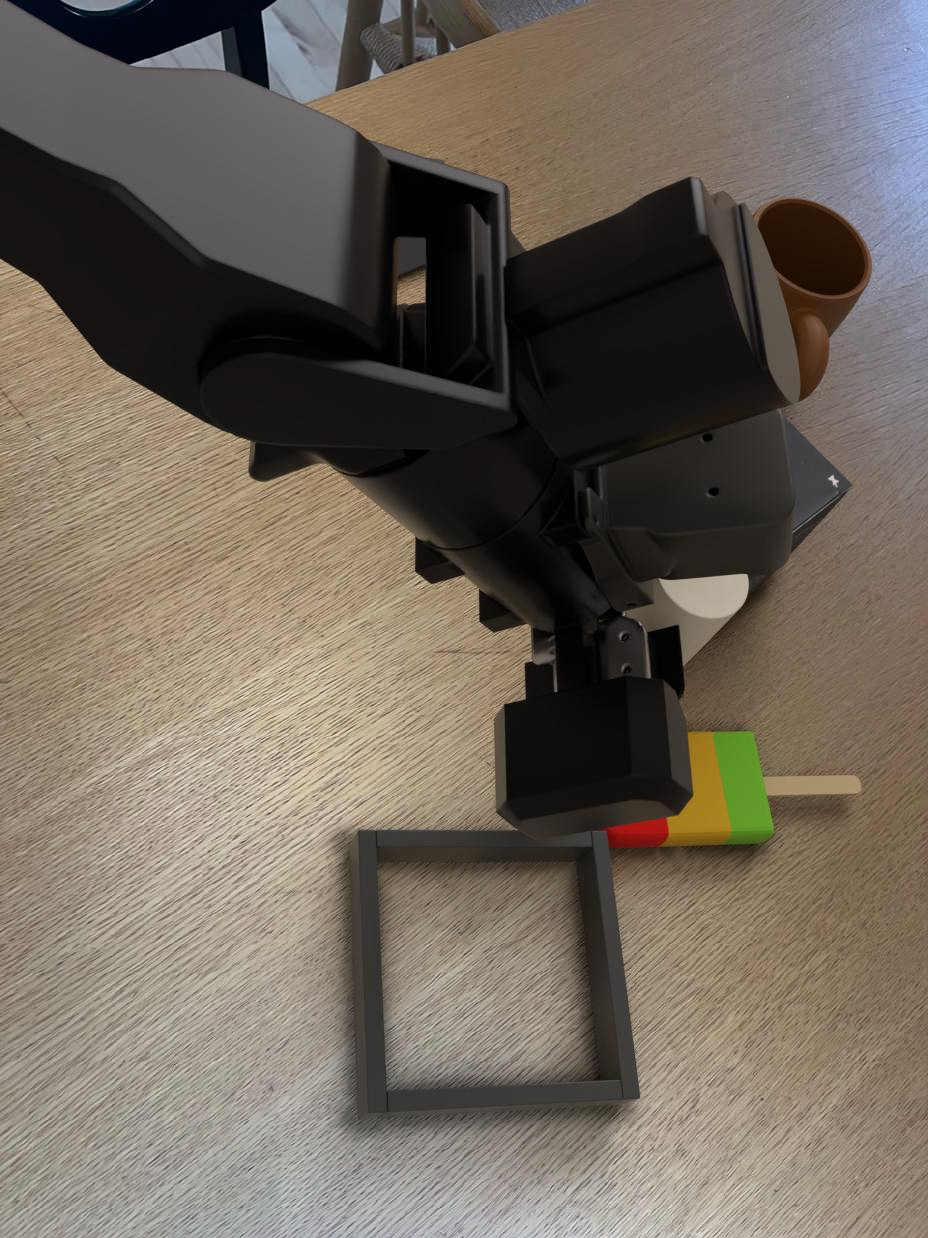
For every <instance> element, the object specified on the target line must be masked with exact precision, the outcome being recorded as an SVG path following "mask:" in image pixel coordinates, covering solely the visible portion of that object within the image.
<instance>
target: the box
mask: <svg viewBox="0 0 928 1238" xmlns="http://www.w3.org/2000/svg"><path fill="white" fill-rule="evenodd" d="M784 420H785V427H786V433H787V440H788V447H789V453H790V460H791V467H792V473H793V480H794V487H795V494H796V504H795V515H794V525H793V536H792V546H791V554H790V556H791V555H792V554H793V553H794V552H795V550H796V549H798V548H799V546H800V545H801V544H802V543H803V542H804V541H805V540H806V539H807V538H808V536H809V535H810V534H811V533H812V532H813V531H814V530H815V529H816V527H818V525H819V524H820V523H821V522H822V521H823V520H824V519H825V518H826V517H827V516H828V514H830V512H832V510H834V509H835V508H836V506H837V505H838V504H839V502H841V500H842V499H843V498H844V497H845V496H846V494H847V493H848V492H849V491H850V490H851V489H852V488H853V483H852V482H850V480H849V479H848V478H847V477H846V476H845V475H844V474H843V473H842V472H841V471H840V470H839V469H838V468H837V467H836V466H835V465H834V464H833V463H832V462H830V460H829V459H827V457H826V456H825V455H823V453H822V452H820V451H819V450H818V448H817V447H816V446H815V445H814V444H813V443H812V442H811V441H809V439H808V438H807V437H806V436H804V434H803V433H802V432H801V431H800V430H799V429H798V428H797V427H796V426H795V425H794V424H793V423H792V422H791V421H790V420H789V419H788V418H787V417H786V416H784ZM774 573H775V572H773V573H770V574H765V575H758V576H749V575H748V582H749V587H748V594H750V593H752V592H753V591H754V590H756V589H757V587H759V586H760V585H761V584H762V583H764V582H765V581H766V580H767V579H769V578H770V577H771V576H772V575H773V574H774Z"/></svg>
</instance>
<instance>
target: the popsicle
mask: <svg viewBox="0 0 928 1238" xmlns="http://www.w3.org/2000/svg"><path fill="white" fill-rule="evenodd" d="M687 732H688V742H689V753H690V763H691V774H692V785H693V795H694V796H693V797H692V798H691V800H690V801H689V802H688V804H687V805H686V806H685V808H684V809H683V810H682V811H681V813H680V814H679V815H678V816H672V817H666V818H661V819H655V820H649V821H644V822H638V823H633V824H627V825H621V826H616V827H610V828H604V829H599V830H593V831H607V836H608V844H609V848H612V849H613V848H615V849H630V848H631V849H632V848H635V849H636V848H658V847H659V848H660V847H662V848H663V847H665V848H666V847H693V846H722V845H725V846H727V845H751V844H754V845H755V844H760V843H763V842H765V841H766V840H768V839H770V838H771V837H772V836H773V835H774V832H775V826H774V822H773V816H772V814H771V813H772V811H771V807H770V803H769V799H768V798H775V797H776V798H782V797H783V798H784V797H823V796H825V797H826V796H828V797H829V796H830V797H831V796H856V795H858V794H859V793H861V791H862V783H861V780H860V779H859V777H858V776H857V775H853V774H850V775H849V774H847V775H846V774H845V775H843V774H842V775H787V776H786V775H785V776H781V775H780V776H763V771H762V766H761V762H760V757H759V752H758V747H757V743H756V738H755V733H754V731H752V730H751V731H750V730H749V731H687Z"/></svg>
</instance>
